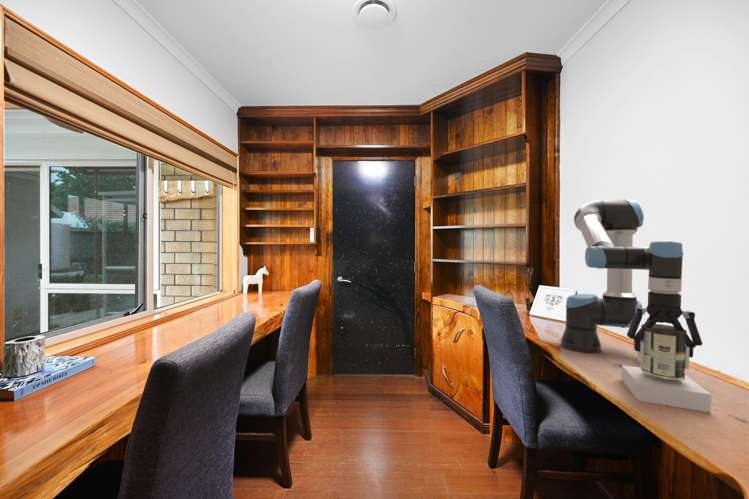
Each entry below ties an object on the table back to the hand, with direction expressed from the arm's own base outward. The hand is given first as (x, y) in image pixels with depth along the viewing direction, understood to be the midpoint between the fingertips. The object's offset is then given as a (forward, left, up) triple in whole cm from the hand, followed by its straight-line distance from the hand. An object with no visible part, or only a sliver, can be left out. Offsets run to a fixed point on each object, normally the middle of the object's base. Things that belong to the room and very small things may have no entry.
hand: (662, 364), depth 99 cm
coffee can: (0, 0, -3) cm, 3 cm away
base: (0, 0, -9) cm, 9 cm away
